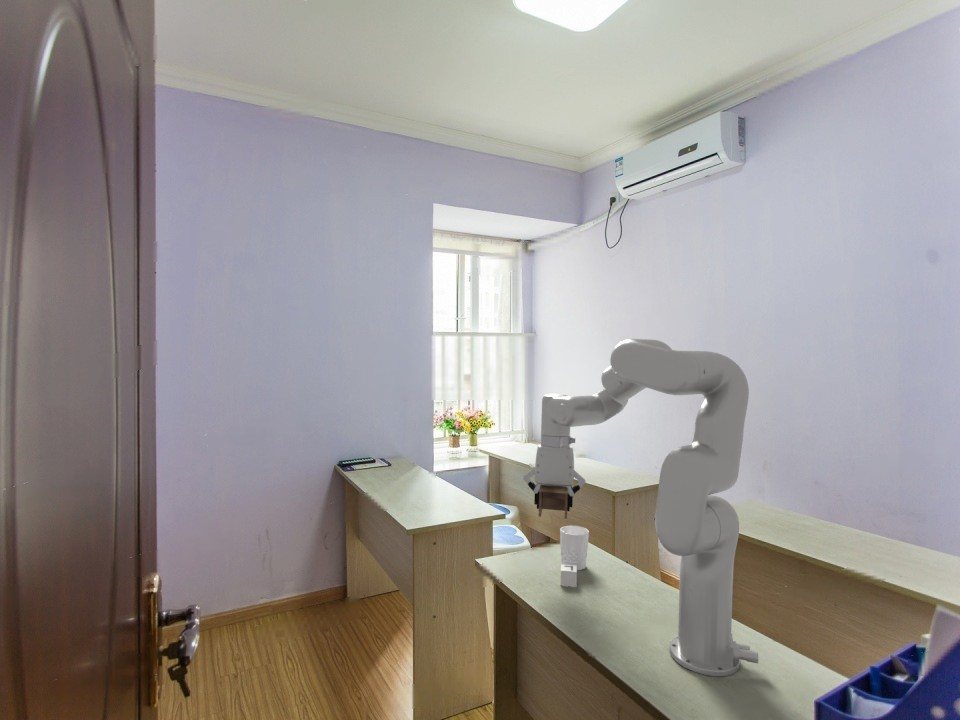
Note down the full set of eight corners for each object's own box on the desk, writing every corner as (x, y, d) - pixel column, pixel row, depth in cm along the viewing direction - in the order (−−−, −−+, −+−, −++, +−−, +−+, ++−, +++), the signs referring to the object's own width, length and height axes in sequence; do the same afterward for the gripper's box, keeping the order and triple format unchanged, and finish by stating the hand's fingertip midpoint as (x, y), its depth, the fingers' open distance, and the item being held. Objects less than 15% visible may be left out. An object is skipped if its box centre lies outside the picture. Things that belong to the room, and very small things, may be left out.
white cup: (590, 571, 143) (591, 535, 143) (561, 571, 143) (562, 534, 143) (584, 560, 151) (585, 525, 151) (557, 560, 151) (558, 525, 151)
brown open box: (567, 510, 142) (568, 484, 142) (566, 518, 135) (567, 491, 135) (540, 508, 143) (541, 482, 143) (538, 516, 136) (539, 489, 136)
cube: (576, 580, 138) (576, 565, 138) (576, 587, 134) (576, 571, 134) (560, 579, 138) (561, 564, 138) (560, 586, 134) (560, 570, 134)
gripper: (588, 440, 141) (586, 507, 141) (523, 437, 144) (521, 502, 144) (589, 445, 133) (587, 515, 134) (520, 441, 136) (518, 510, 137)
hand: (553, 508), depth 139 cm, fingers closed on brown open box, 7 cm apart
